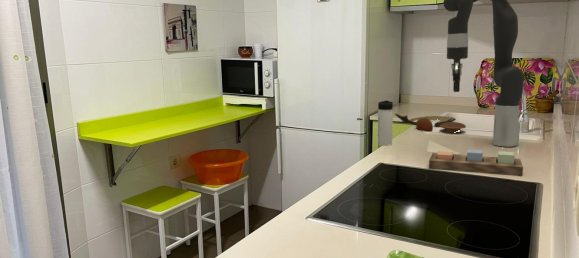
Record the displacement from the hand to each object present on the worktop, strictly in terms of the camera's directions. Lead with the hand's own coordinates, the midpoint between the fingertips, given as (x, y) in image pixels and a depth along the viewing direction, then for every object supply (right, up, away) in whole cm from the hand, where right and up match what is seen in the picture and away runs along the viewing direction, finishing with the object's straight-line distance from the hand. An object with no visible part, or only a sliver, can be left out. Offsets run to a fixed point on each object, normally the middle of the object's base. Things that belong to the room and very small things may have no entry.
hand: (456, 91), depth 174 cm
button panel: (+2, -28, -12) cm, 31 cm away
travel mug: (-22, -22, +25) cm, 40 cm away
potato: (+7, -15, +52) cm, 55 cm away
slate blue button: (+2, -25, -13) cm, 29 cm away
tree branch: (+9, -14, +70) cm, 72 cm away
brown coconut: (+15, -11, +46) cm, 49 cm away
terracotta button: (-7, -26, -9) cm, 29 cm away
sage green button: (+11, -26, -17) cm, 33 cm away
